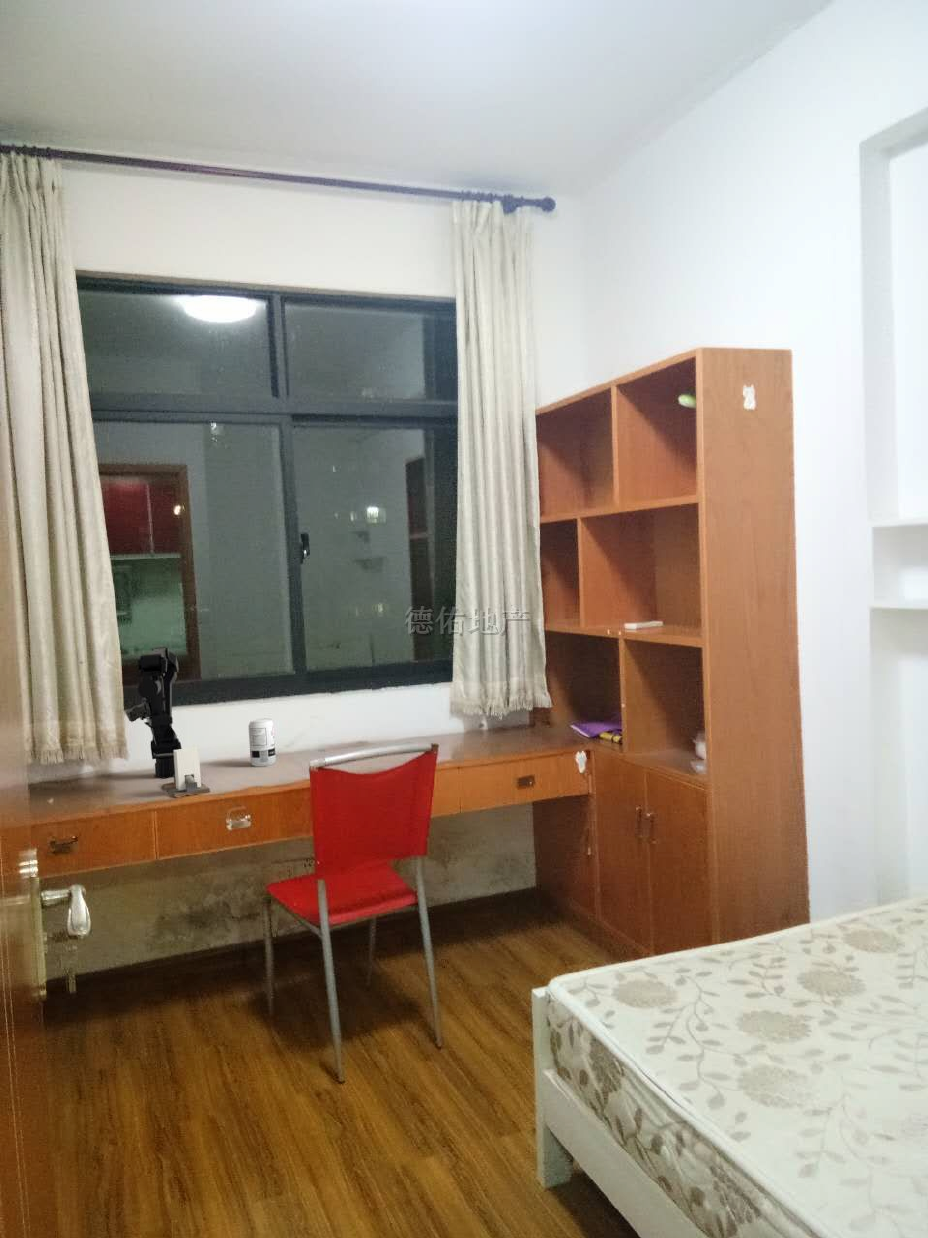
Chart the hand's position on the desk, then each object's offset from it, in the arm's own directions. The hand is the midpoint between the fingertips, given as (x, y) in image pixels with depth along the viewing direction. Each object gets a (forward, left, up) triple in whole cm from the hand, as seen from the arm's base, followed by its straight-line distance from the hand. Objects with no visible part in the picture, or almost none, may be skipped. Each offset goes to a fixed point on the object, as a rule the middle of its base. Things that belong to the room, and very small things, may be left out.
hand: (157, 745), depth 269 cm
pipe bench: (-2, +11, -13) cm, 17 cm away
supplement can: (-36, +4, -13) cm, 39 cm away
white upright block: (0, +15, -12) cm, 19 cm away
